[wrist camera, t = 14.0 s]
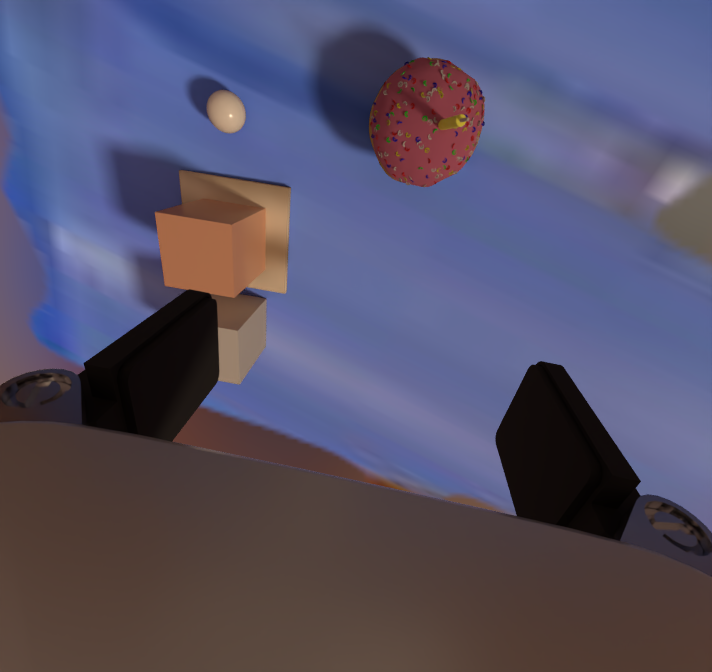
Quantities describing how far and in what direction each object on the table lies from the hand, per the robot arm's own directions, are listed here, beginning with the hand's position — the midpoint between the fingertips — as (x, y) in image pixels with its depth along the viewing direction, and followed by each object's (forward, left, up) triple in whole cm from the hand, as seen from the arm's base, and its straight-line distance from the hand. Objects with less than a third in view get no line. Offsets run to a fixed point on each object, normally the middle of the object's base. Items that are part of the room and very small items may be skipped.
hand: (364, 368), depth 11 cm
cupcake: (-7, +1, -28) cm, 29 cm away
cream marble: (-6, -16, -28) cm, 32 cm away
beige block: (+15, -16, -28) cm, 35 cm away
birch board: (+5, -16, -28) cm, 32 cm away
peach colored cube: (+5, -16, -27) cm, 32 cm away
